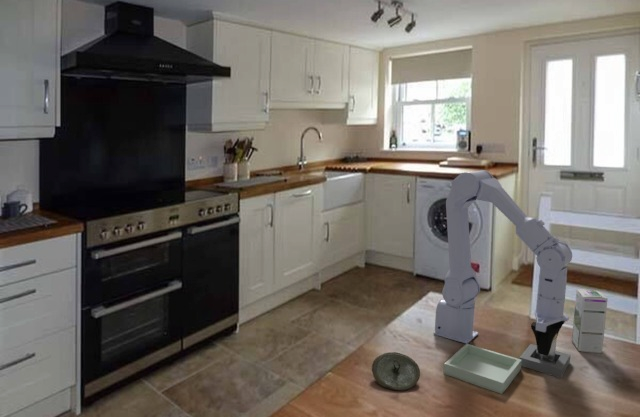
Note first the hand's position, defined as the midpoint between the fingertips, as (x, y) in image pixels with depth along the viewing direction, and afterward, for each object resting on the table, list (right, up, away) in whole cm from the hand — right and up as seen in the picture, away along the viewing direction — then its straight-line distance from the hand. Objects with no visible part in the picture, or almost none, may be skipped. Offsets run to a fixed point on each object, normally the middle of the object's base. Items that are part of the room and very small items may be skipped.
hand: (545, 350), depth 113 cm
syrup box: (+15, -2, +9) cm, 17 cm away
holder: (0, -3, +1) cm, 3 cm away
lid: (-36, -5, -7) cm, 37 cm away
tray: (-16, -4, -3) cm, 17 cm away
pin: (0, -3, +1) cm, 3 cm away
